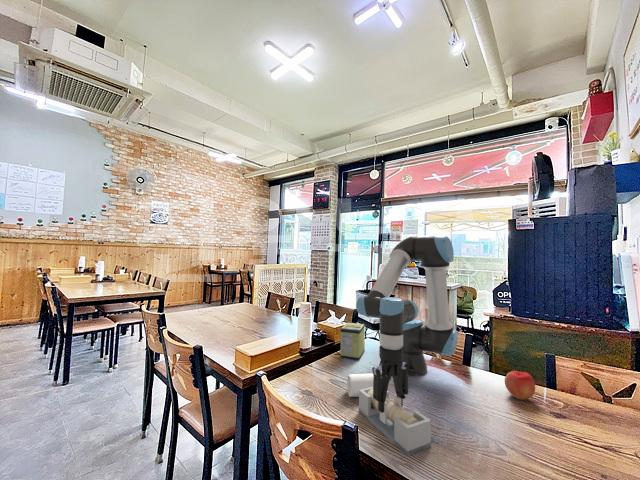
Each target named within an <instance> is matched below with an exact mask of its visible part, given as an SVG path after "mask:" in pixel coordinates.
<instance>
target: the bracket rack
mask: <svg viewBox="0 0 640 480" xmlns="http://www.w3.org/2000/svg"><path fill="white" fill-rule="evenodd" d="M371 389H373V387H370V388H366V389H362V390H359V397H358V413H360V415H362V416H364V418H365V419H366V420H367V421H369V422H370V423H371V424H372V425H373V426H374V427H375V428H376V429H378V431H380V432H381V433H382V434H383V436H385V437H386V438H387V439H388V440H390V441H391V442H392V444H393V445H395V446H396V447H397V448H398V449H399V450H400V451H402V452H403V453H404V454H405V455H406V456H407V457H409V456H411V455H414V454H416V453H419V452H421V451H424V450H426V449H428V448H429V449H430V448H431V447H432V422H431V421H432V420H431V419H430V418H429V417H427V416H425V415H424V414H422V413H421V412H419V411H418V410H415V411H413V417H414V418H416V419H417V420H418V421H419V422H416V423H414V424H411V425H407V424H406V423H405V422H403V421H402V420H401V419H400V418H398V417H396V418H394V423H392V422H391V421H390V420H389V419H387V424H384V423H383V422H382V421H381V420H380V412H379V411H378V410H376V409H375V408H374V407H373V406H371V396H370V395H368V394H367V393H368V391H369V390H371ZM386 398H388V399H389V400H390V392H389V391H388V390H387V395H386Z"/></svg>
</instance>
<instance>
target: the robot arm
mask: <svg viewBox="0 0 640 480" xmlns="http://www.w3.org/2000/svg"><path fill="white" fill-rule="evenodd" d="M454 253H455V252H454V247H453V243H452V241H451V239H450V237H448V236H447V235H443V234H442V235H439V234H433V235H413V236H409V237H407V238H404V239H402V241H400V242H399V243H397V244H396V245H395V247H393V248H392V250H391V252H390V254H389V257H390V258H389V260H388V261H387V262H386V265H385V266H384V267H383V269H382V271H381V273H380V275H379V276H378V278H377V279H376V281H375V283H374V284H373V286H372V288H371V289H370V291H369V292H368V294H367V295H360V296H359V297H358V298H357V299H356V302H355V308H356V312H357V313H358V315H361V316H365V317H368V318H377V319H379V344H380V345H379V352H378V353H379V359H380V362H379V365H378V366H377V367H375V366H373V367H372V369H371V371H372V374H373V375H374V377H373V398H374V399H375V400H377V401H378V409H379V411H380V420H381V421H382V422H383V423H384V424H387V402H386V401H385V400H386V395H387V391H388V389H389V384H390V381H391V380H393V381H392V382H393V385H394V390H395V394H394V395H393V403H395V404H396V405H397V406H399V407H400V408H403V405H404V404H403V403H404V400H405V399H406V395H408V394H409V376H423V375H425V374H427V373H428V365H427V363H426V362H427V361H426V359H425V356H424V352H429V353H433V354H437V355H441V356H447V357H452V356H453V355H454V354H455V352H456V349H457V345H458V340H459V332H458V330H456V329H454V325H453V324H452V322H451V321H450V319H449V318H450V317H449V301H448V284H447V269H448V268H449V267H450V263H452V262H453V261H454V257H455V254H454ZM412 262H420V263H421V267H422V268H423V269H424V270H425V285H426V300H427V301H426V302H427V303H426V304H427V317H428V319H427V321H425V324H424V322H423V320H421V319H416V318H417V317H418V316H419V308H418V307H419V306H418V305H417V304H416V302H414V301H413V300H411V299H402V298H399V297H390V296H391V295H392V293H393V290H394V289H395V287H396V285H397V284H398V281H399V279H400V277H401V276H402V274H403V272H404V270H405V268H406V267H408V266H410V264H411V263H412Z"/></svg>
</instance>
